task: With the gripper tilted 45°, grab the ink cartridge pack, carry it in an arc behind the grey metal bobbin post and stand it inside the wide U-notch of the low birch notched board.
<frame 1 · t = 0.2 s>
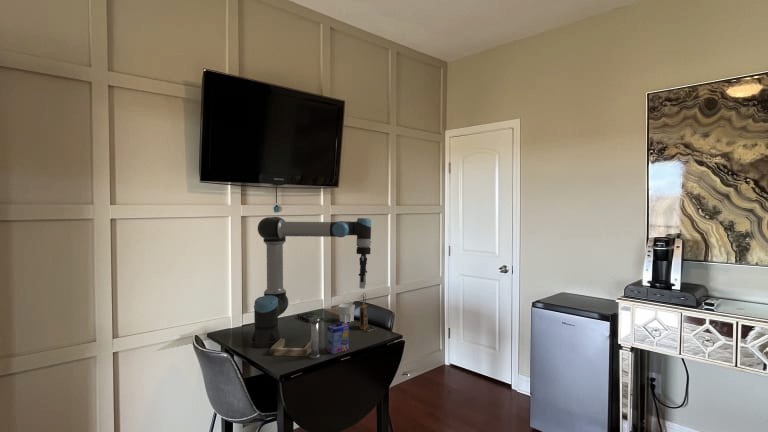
hand: (362, 286, 220), 27 cm above the table, tool pointing down, fingers open, 13 cm apart
cup: (346, 321, 253), on the table
ink cartridge box: (338, 351, 201), on the table
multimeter: (369, 328, 237), on the table
disk drive: (310, 320, 259), on the table
notched board: (294, 349, 202), on the table
bobbin post: (314, 357, 191), on the table
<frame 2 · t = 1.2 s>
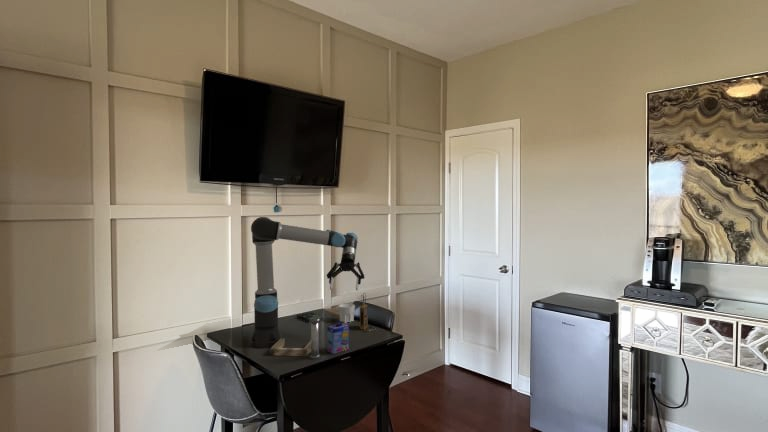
hand: (343, 288, 215), 27 cm above the table, tool tilted 45°, fingers open, 13 cm apart
nothing on the table moved.
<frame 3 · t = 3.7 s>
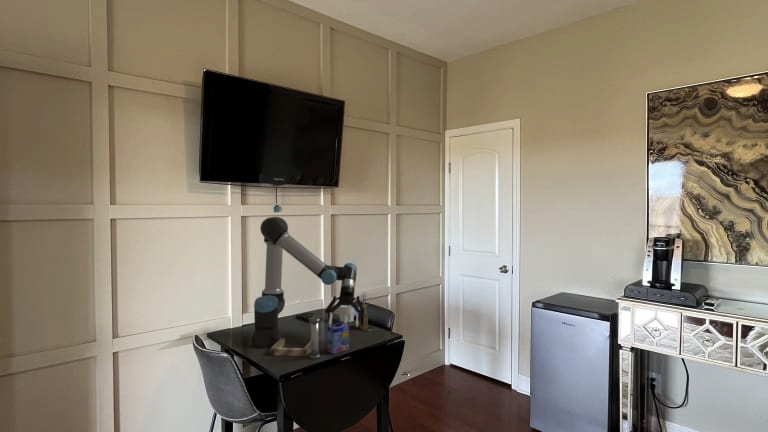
hand: (343, 325, 205), 11 cm above the table, tool tilted 45°, fingers open, 13 cm apart
nothing on the table moved.
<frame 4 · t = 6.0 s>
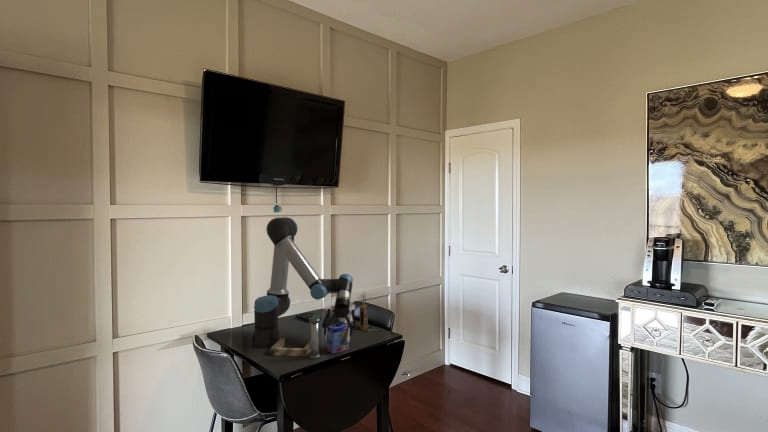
hand: (337, 341, 197), 6 cm above the table, tool tilted 45°, fingers closed on ink cartridge box, 10 cm apart
ink cartridge box: (338, 350, 201), on the table, touching gripper
everything else where it was.
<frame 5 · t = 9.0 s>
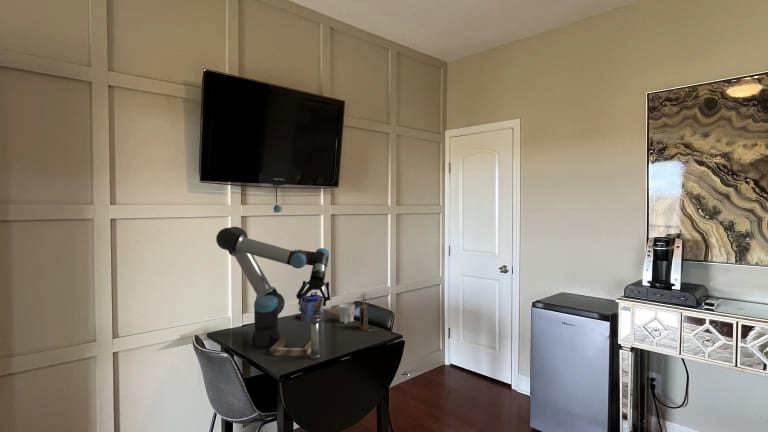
hand: (310, 311, 204), 18 cm above the table, tool tilted 45°, fingers closed on ink cartridge box, 10 cm apart
ink cartridge box: (311, 320, 207), point 13 cm above the table, touching gripper
everything else where it was.
when the fingers open (7 cm above the table, at t = 12.5 s): ink cartridge box drops 1 cm, on the table.
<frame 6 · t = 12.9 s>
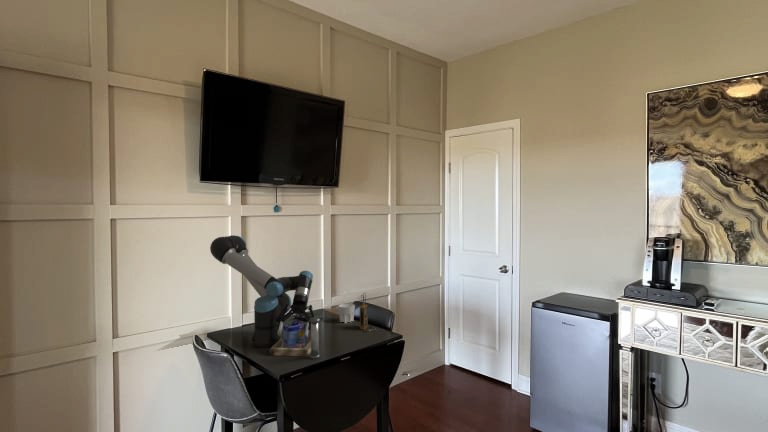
hand: (292, 335, 200), 8 cm above the table, tool tilted 45°, fingers open, 13 cm apart
ink cartridge box: (294, 349, 202), on the table
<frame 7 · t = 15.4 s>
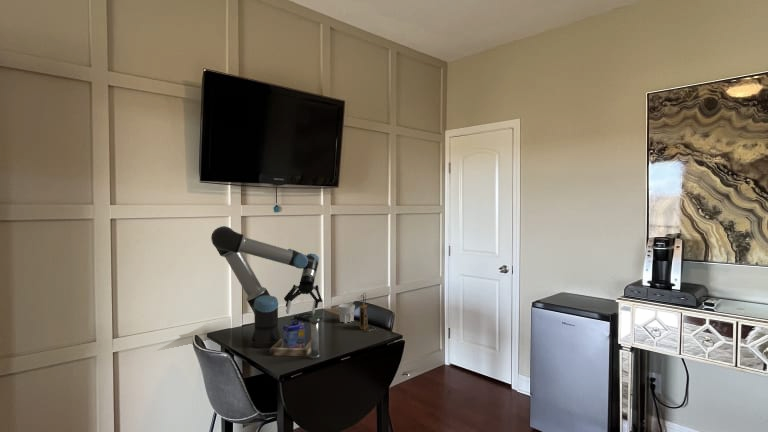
hand: (300, 312, 212), 15 cm above the table, tool tilted 45°, fingers open, 13 cm apart
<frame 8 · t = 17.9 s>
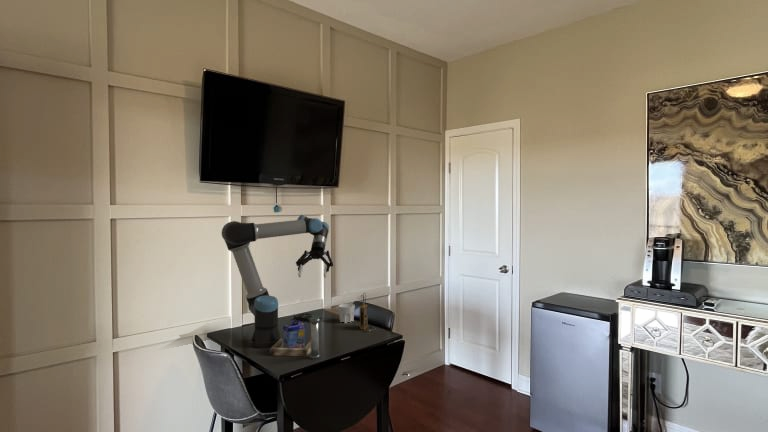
hand: (311, 276, 217), 34 cm above the table, tool tilted 45°, fingers open, 13 cm apart
at the end: ink cartridge box inside the target area on the notched board (0.2 cm from its centre), point 0.0 cm above the notched board's base; ink cartridge box tilted 0°; the gripper is holding nothing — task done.
